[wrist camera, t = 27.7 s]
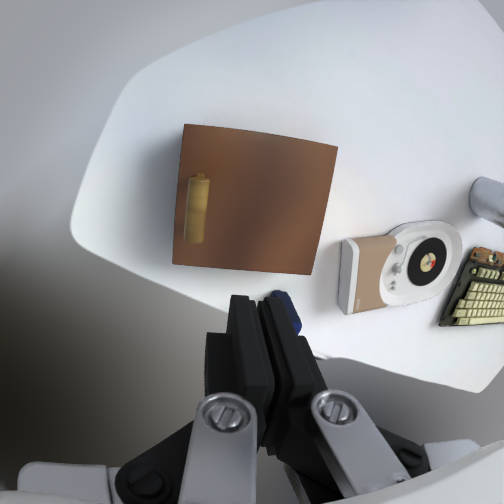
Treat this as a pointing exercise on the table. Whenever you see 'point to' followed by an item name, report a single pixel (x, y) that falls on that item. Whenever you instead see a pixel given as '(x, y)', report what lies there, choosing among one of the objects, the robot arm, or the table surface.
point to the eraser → (289, 309)
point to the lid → (250, 200)
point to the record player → (398, 266)
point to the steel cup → (488, 200)
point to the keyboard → (478, 291)
